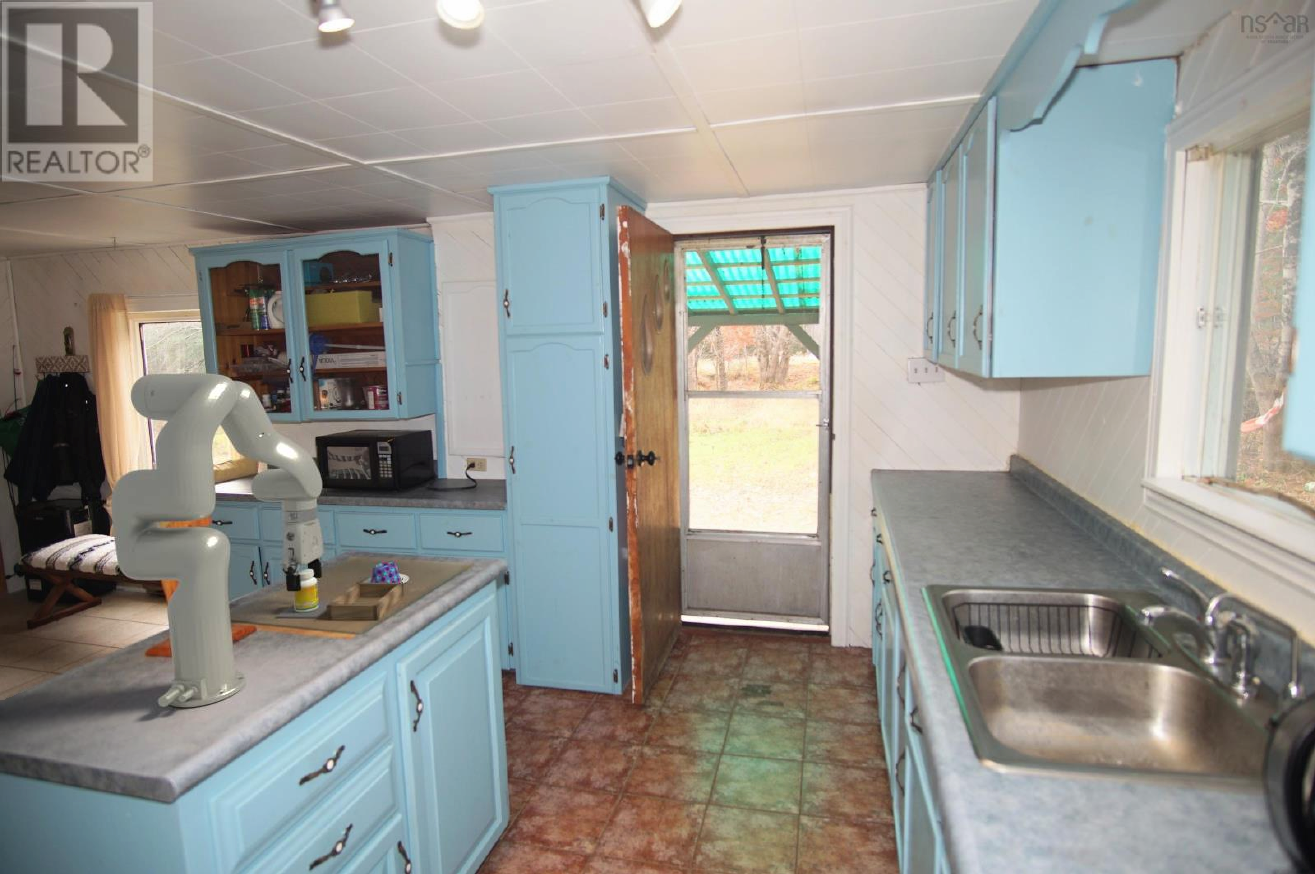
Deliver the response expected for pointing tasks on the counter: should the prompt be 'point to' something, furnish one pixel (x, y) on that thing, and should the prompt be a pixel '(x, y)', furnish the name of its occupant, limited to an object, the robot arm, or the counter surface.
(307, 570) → the supplement bottle
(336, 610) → the walnut box
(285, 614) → the rubber mat
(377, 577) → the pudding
